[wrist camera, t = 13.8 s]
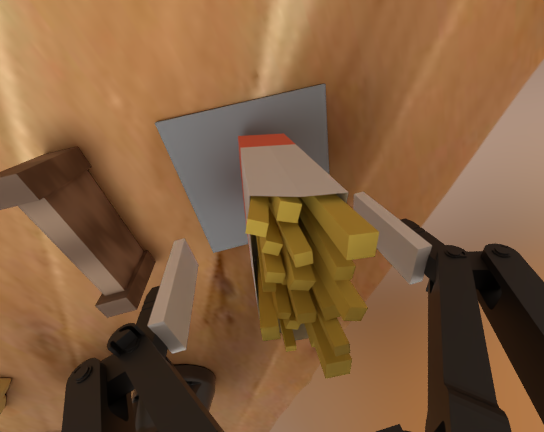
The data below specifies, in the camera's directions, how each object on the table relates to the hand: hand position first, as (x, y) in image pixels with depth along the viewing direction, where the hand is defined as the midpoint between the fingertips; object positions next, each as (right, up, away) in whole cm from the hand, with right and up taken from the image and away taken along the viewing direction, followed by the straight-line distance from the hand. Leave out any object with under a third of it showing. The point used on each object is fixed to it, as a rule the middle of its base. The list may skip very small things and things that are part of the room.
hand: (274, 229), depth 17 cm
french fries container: (-2, +5, +8) cm, 9 cm away
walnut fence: (-18, +1, +7) cm, 19 cm away
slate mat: (-2, +5, +8) cm, 10 cm away
